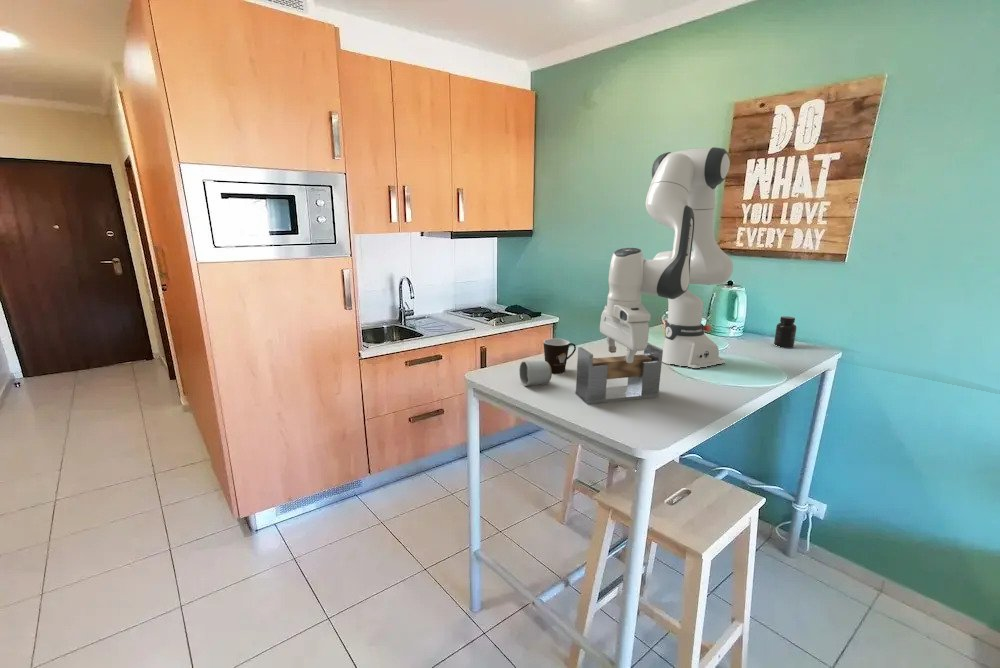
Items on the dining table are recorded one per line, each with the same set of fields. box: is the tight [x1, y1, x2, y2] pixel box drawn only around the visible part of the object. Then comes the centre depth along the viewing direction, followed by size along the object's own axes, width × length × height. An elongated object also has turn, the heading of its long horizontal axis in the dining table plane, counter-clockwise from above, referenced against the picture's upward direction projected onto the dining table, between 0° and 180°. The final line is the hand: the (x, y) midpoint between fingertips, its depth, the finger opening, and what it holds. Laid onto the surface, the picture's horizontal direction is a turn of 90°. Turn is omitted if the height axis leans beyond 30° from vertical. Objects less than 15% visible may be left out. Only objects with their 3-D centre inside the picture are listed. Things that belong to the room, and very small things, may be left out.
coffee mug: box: [542, 338, 577, 375], centre depth 143 cm, size 12×9×10 cm
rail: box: [593, 354, 652, 380], centre depth 122 cm, size 18×4×5 cm, turn 104°
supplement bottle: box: [773, 316, 797, 348], centre depth 174 cm, size 7×7×12 cm
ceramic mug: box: [519, 360, 552, 387], centre depth 133 cm, size 11×8×8 cm
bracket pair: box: [574, 342, 663, 405], centre depth 122 cm, size 22×8×14 cm, turn 104°
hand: (620, 357), depth 121 cm, fingers open, 8 cm apart
